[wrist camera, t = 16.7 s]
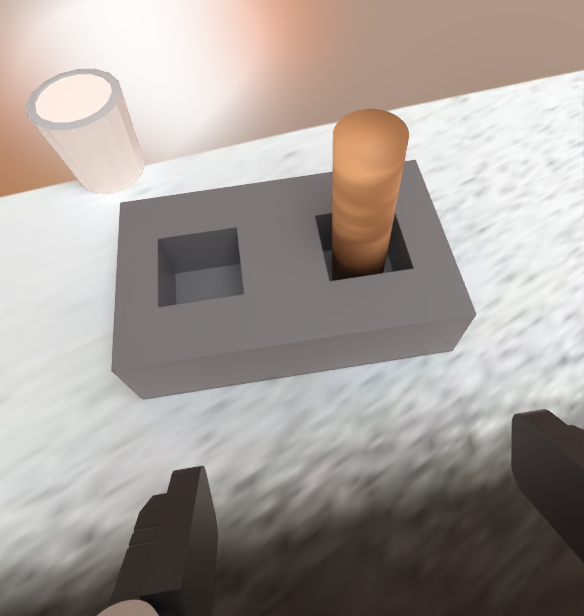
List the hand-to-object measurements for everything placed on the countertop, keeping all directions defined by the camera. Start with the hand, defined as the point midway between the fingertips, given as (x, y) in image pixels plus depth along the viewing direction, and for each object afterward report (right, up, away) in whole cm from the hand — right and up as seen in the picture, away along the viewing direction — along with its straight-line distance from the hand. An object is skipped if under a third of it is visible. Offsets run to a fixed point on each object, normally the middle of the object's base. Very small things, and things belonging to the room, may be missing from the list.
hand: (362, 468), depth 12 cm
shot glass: (-17, +16, +27) cm, 36 cm away
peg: (+3, +6, +19) cm, 20 cm away
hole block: (-2, +5, +20) cm, 21 cm away
